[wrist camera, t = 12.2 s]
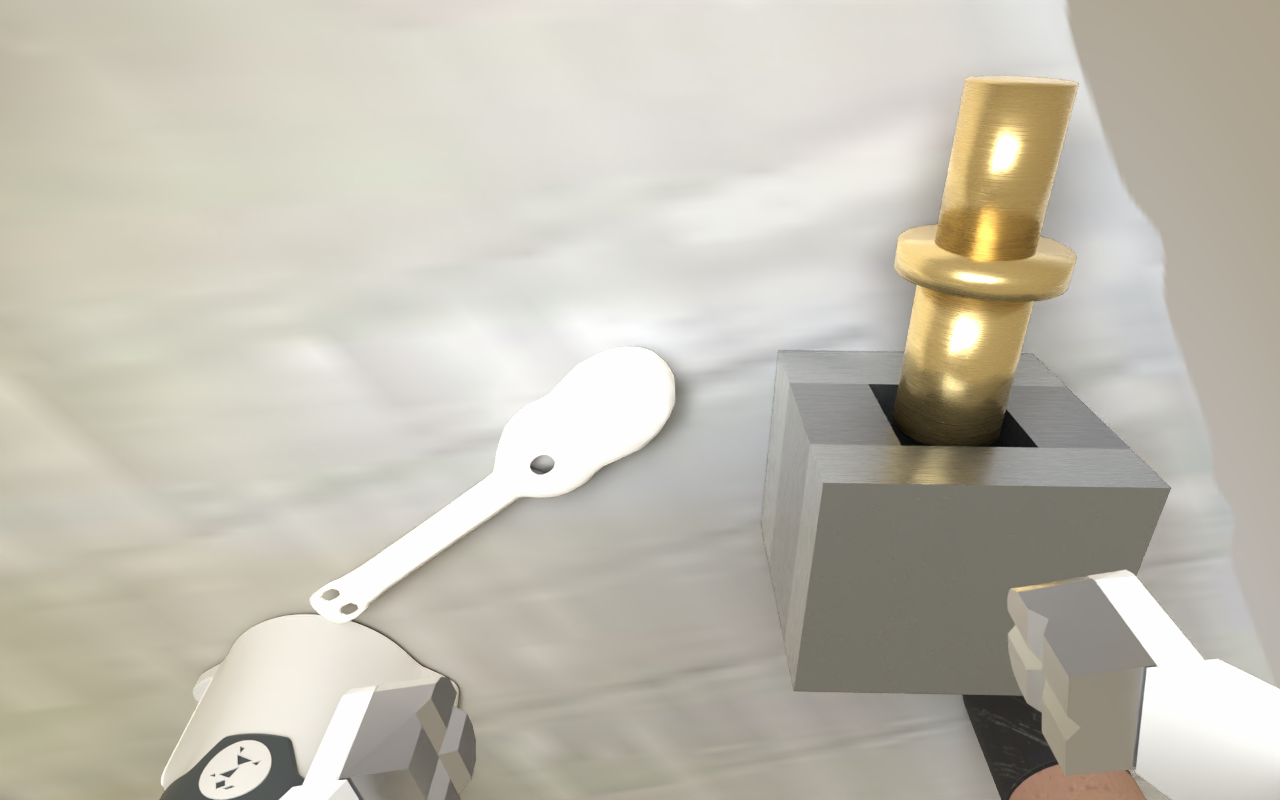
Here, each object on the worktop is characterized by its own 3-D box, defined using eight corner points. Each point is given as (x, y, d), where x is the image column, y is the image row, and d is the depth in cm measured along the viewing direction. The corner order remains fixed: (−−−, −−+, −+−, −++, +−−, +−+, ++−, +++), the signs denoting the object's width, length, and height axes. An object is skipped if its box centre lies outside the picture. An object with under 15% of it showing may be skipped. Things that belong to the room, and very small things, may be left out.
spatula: (368, 611, 53) (353, 643, 50) (303, 560, 51) (284, 590, 48) (696, 389, 44) (698, 414, 41) (633, 315, 42) (630, 337, 39)
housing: (985, 528, 48) (1088, 696, 37) (761, 525, 48) (793, 691, 37) (1032, 353, 43) (1171, 487, 31) (778, 350, 43) (823, 482, 31)
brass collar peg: (990, 391, 40) (1051, 465, 34) (854, 389, 40) (890, 462, 34) (1069, 73, 33) (1165, 92, 27) (903, 71, 33) (960, 90, 27)
